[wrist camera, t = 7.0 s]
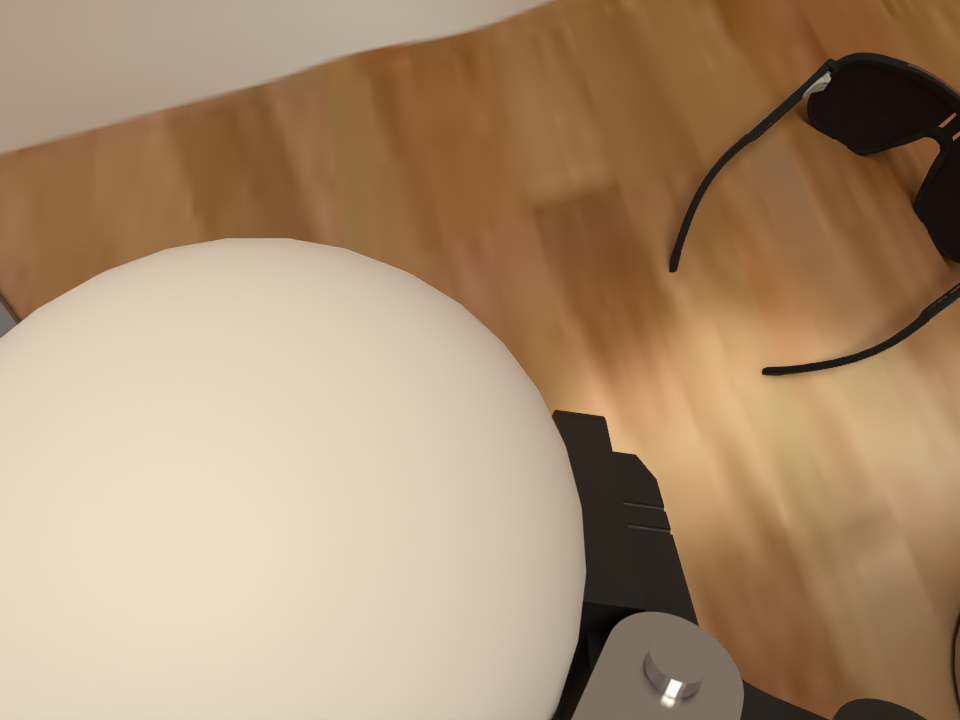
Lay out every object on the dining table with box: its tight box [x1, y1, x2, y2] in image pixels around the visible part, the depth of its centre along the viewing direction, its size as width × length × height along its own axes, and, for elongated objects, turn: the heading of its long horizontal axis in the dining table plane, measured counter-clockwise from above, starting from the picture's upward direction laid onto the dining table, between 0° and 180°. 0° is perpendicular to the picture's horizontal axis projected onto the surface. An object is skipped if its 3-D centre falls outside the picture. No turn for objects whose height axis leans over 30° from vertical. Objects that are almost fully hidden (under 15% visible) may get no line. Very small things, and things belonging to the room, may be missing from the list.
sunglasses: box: [669, 53, 960, 375], centre depth 27 cm, size 10×12×5 cm
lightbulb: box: [0, 238, 586, 720], centre depth 9 cm, size 6×6×11 cm
